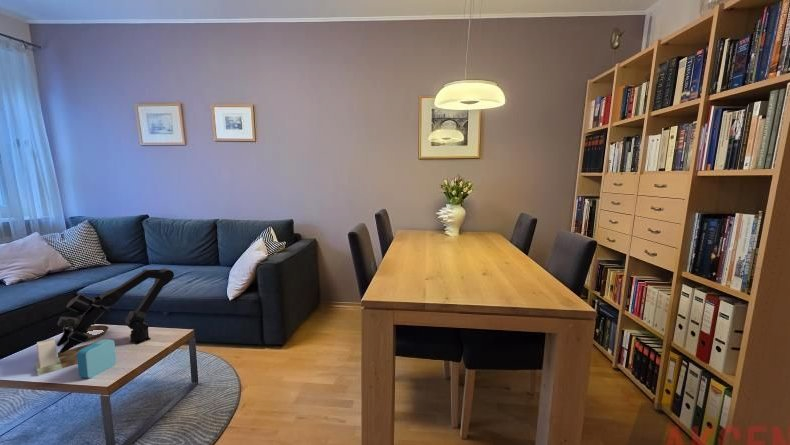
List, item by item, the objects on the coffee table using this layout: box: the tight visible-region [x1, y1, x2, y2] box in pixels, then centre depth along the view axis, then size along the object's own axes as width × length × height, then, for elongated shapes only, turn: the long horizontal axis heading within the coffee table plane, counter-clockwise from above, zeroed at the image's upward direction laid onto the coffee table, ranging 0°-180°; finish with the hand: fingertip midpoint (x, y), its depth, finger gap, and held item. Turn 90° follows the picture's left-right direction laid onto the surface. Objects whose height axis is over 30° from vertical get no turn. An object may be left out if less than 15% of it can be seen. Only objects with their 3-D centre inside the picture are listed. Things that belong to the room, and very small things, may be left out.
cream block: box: [36, 337, 58, 368], centre depth 140 cm, size 5×5×10 cm
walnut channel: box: [34, 341, 97, 377], centre depth 147 cm, size 23×10×4 cm, turn 142°
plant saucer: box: [85, 324, 109, 343], centre depth 169 cm, size 18×18×3 cm
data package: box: [77, 338, 117, 379], centre depth 138 cm, size 12×4×12 cm, turn 173°
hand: (58, 349), depth 143 cm, fingers open, 9 cm apart
